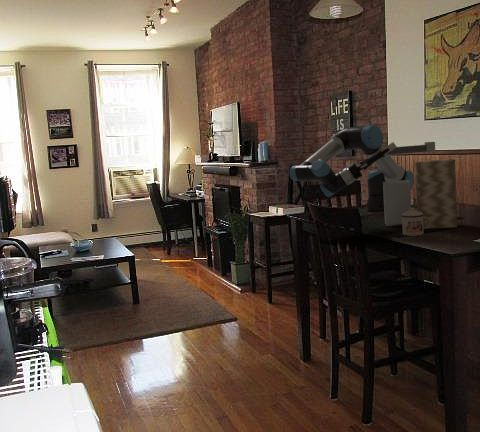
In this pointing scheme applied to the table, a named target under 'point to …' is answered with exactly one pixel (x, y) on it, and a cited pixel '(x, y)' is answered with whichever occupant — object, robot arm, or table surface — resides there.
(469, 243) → the table surface
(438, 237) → the table surface
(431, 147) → the brown bar
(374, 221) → the table surface
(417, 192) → the wood grain block
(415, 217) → the teacup with lid
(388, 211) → the block
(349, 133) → the robot arm
